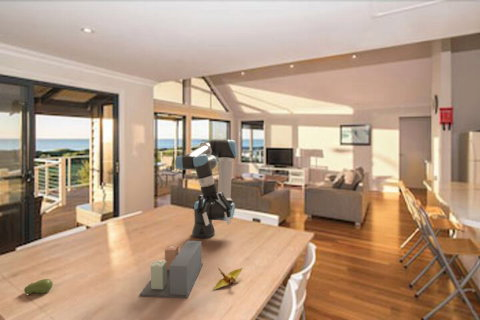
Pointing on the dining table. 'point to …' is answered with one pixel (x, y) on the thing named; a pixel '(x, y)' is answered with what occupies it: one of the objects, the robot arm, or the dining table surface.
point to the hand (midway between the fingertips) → (218, 224)
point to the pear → (39, 286)
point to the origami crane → (227, 278)
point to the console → (180, 273)
